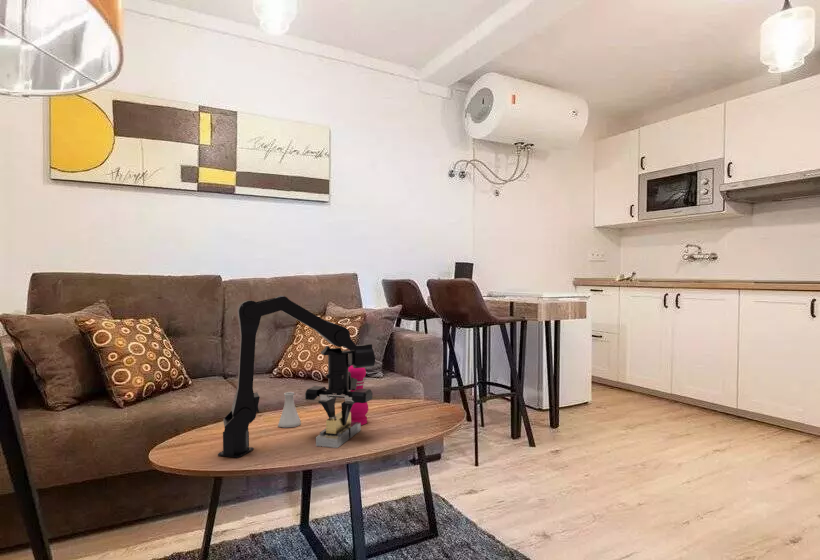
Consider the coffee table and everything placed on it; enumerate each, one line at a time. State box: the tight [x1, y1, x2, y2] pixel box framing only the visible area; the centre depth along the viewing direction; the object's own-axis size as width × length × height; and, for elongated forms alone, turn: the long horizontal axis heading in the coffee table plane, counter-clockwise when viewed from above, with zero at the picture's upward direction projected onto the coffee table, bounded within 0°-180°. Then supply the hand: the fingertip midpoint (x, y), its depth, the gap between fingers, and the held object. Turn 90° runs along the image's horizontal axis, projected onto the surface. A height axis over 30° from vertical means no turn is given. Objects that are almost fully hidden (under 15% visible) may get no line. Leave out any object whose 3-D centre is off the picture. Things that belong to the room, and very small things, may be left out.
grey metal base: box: [315, 422, 362, 449], centre depth 134 cm, size 16×6×3 cm, turn 163°
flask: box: [277, 391, 302, 429], centre depth 147 cm, size 7×7×10 cm
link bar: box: [325, 410, 351, 434], centre depth 134 cm, size 10×3×4 cm, turn 163°
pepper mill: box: [348, 365, 369, 426], centre depth 148 cm, size 7×7×20 cm
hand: (339, 424), depth 134 cm, fingers closed on link bar, 3 cm apart
